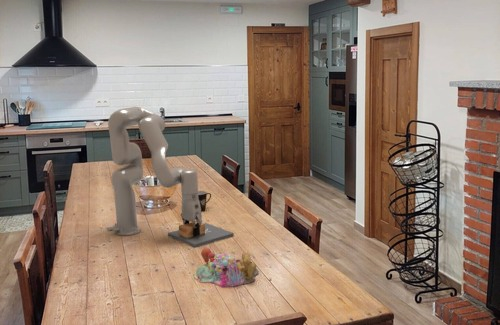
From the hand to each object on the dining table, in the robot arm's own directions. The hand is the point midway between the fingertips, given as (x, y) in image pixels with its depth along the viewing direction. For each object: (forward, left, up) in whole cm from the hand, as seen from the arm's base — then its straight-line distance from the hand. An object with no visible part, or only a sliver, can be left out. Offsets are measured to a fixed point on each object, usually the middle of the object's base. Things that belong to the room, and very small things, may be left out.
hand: (192, 233), depth 243 cm
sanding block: (0, 0, -1) cm, 1 cm away
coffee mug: (+31, +35, -3) cm, 47 cm away
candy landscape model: (-14, -44, -3) cm, 46 cm away
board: (+5, 0, -2) cm, 5 cm away
